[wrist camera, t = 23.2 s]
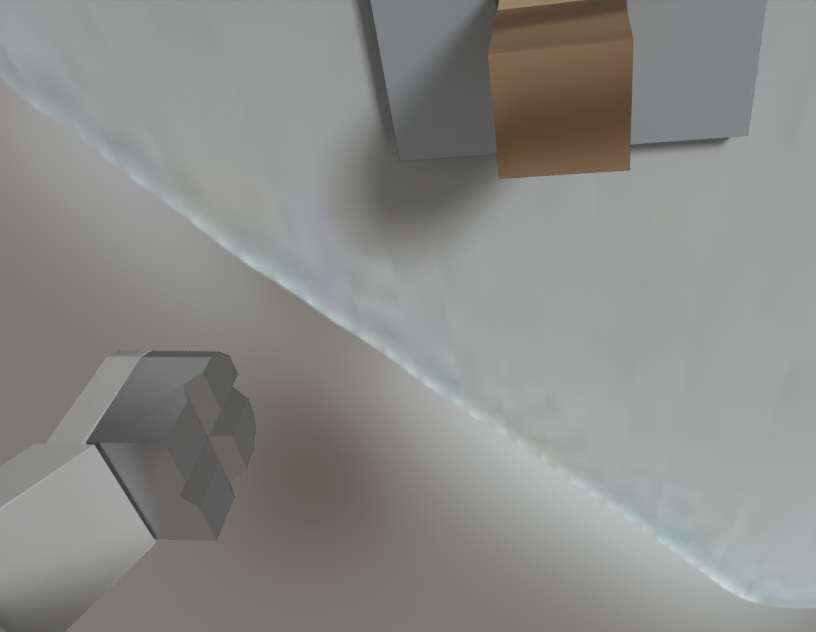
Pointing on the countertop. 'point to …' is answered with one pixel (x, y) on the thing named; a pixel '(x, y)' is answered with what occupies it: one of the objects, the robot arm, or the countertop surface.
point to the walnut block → (562, 88)
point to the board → (651, 85)
